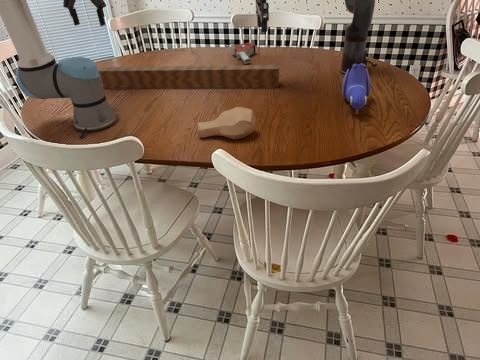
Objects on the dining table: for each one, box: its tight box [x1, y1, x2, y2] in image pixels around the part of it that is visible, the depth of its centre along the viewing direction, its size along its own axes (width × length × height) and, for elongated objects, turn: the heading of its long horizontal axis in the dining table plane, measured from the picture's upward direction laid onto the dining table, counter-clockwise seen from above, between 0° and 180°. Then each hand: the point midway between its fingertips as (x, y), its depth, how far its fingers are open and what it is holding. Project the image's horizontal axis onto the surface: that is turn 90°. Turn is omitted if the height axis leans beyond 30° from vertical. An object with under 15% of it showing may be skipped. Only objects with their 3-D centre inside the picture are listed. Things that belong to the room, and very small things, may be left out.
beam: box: [98, 64, 280, 90], centre depth 156 cm, size 79×5×8 cm, turn 83°
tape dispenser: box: [230, 41, 256, 65], centre depth 185 cm, size 18×5×20 cm
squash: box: [197, 106, 257, 140], centre depth 118 cm, size 11×20×9 cm, turn 92°
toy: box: [341, 63, 371, 116], centre depth 129 cm, size 10×17×25 cm
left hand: (90, 25), depth 157 cm, fingers open, 13 cm apart
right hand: (262, 29), depth 139 cm, fingers open, 8 cm apart
